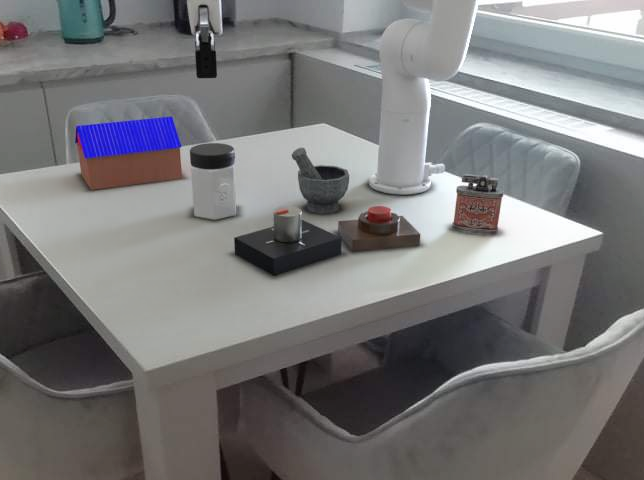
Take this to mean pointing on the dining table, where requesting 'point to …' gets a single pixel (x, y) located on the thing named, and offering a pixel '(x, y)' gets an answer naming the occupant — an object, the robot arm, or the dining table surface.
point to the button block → (378, 233)
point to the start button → (379, 214)
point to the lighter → (478, 205)
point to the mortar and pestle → (320, 183)
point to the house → (129, 152)
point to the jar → (213, 180)
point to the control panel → (287, 249)
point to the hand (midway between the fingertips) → (206, 72)
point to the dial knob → (287, 224)
